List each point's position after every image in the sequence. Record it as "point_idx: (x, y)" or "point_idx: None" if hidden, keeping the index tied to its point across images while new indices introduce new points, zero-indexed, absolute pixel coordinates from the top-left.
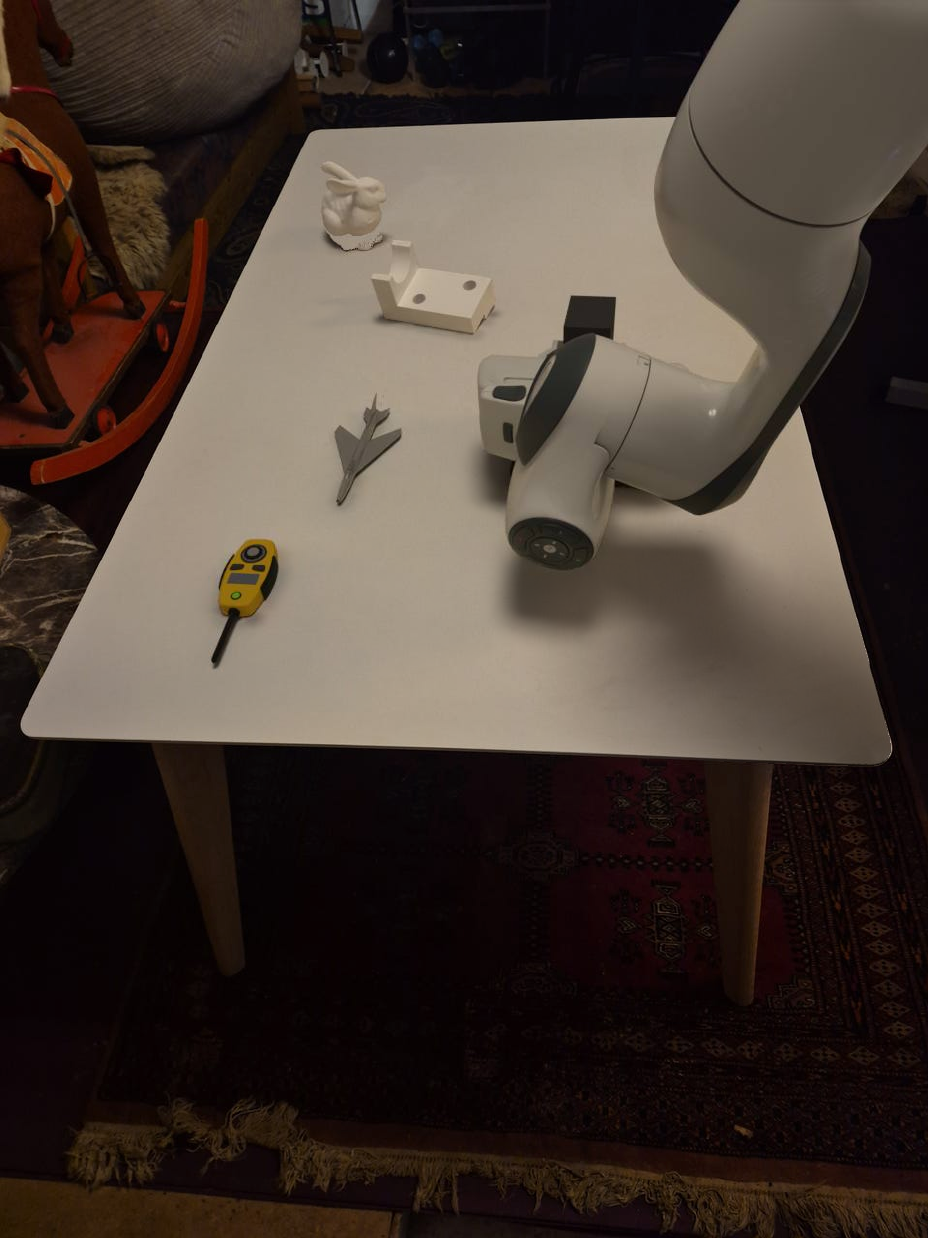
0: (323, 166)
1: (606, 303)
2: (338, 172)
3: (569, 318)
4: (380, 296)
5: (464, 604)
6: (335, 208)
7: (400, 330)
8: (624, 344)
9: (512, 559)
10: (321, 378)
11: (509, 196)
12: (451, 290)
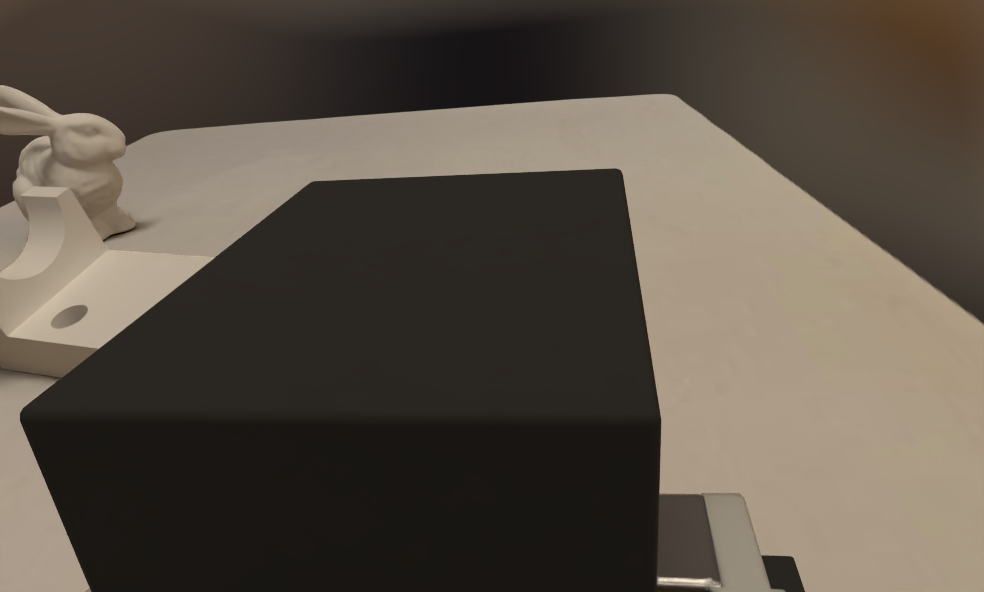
0: None
1: (557, 200)
2: (20, 104)
3: (176, 319)
4: None
5: None
6: (27, 172)
7: (11, 398)
8: (737, 512)
9: None
10: None
11: (383, 169)
12: (156, 293)
